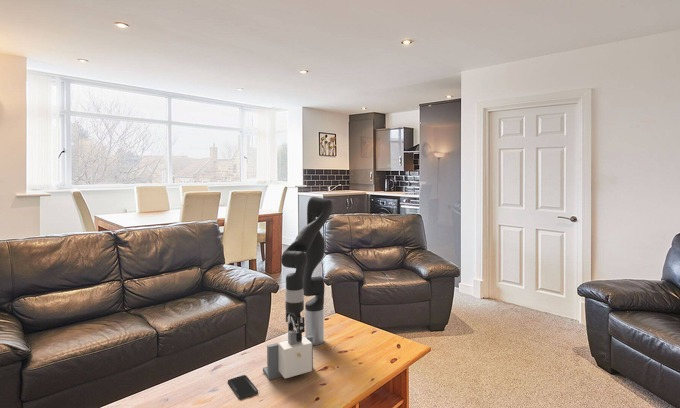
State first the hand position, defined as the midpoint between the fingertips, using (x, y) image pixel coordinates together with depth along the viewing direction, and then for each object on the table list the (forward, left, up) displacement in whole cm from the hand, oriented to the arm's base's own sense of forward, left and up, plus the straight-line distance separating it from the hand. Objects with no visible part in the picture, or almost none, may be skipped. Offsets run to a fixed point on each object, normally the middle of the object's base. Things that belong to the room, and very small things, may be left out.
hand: (294, 337), depth 154 cm
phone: (-4, -21, -18) cm, 28 cm away
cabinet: (0, 0, -14) cm, 14 cm away
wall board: (-5, 0, -17) cm, 18 cm away
